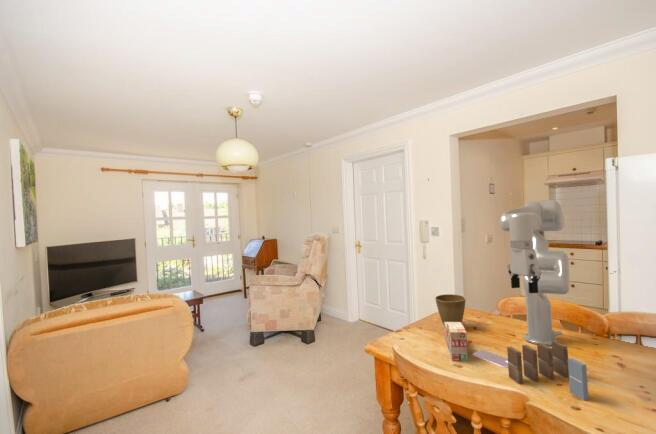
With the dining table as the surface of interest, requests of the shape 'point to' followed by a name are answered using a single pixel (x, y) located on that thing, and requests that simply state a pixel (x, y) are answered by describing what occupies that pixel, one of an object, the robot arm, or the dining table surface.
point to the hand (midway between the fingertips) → (524, 290)
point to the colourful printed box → (456, 340)
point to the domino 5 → (578, 379)
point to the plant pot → (450, 307)
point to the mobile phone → (492, 358)
